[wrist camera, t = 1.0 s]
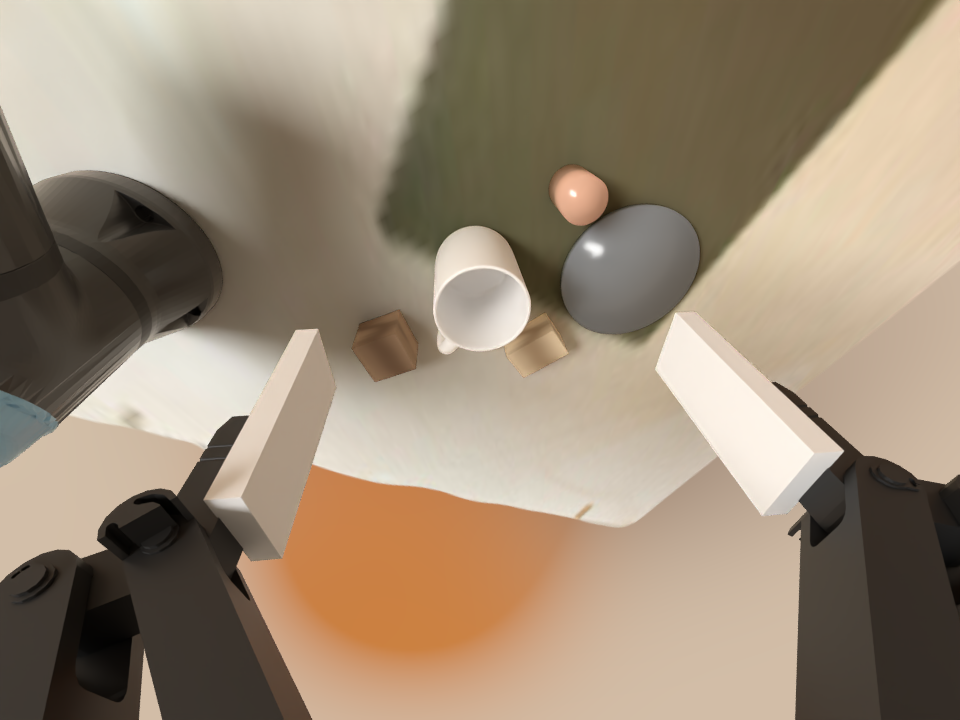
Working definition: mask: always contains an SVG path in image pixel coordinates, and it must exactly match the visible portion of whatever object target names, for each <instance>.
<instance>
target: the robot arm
mask: <svg viewBox="0 0 960 720" xmlns="http://www.w3.org/2000/svg"><path fill="white" fill-rule="evenodd" d="M221 289H222V271H221V266H220V263H219V260H218V257H217V254H216V252H215V250H214V248H213V246H212V245H211V243H210V241H209V240H208V238H207V237H206V235H205V234H204V232H203V231H202V230H201V229H200V227H199V226H198V225H197V224H196V223H195V222H194V221H193V220H192V219H191V218H190V217H189V216H188V215H187V214H186V213H185V212H184V211H183V210H182V209H181V208H179V207H178V206H177V205H176V204H174V203H173V202H172V201H170V200H169V199H168V198H166V197H165V196H163V195H162V194H160V193H158V192H157V191H155V190H153V189H151V188H149V187H148V186H145V185H143V184H141V183H139V182H137V181H134V180H132V179H129V178H126V177H123V176H120V175H116V174H112V173H107V172H102V171H88V170H86V171H74V172H69V173H65V174H62V175H58V176H54V177H51V178H47V179H44V180H42V181H40V182H38V183H36V184H34V185H32V183H31V180H30V178H29V175H28V173H27V170H26V168H25V166H24V163H23V161H22V158H21V156H20V153H19V151H18V148H17V146H16V143H15V141H14V138H13V136H12V133H11V131H10V128H9V126H8V124H7V121H6V119H5V116H4V114H3V111H2V109H1V106H0V467H2V466H3V465H6V464H8V463H10V462H11V461H12V460H14V459H15V458H16V457H18V456H19V455H20V454H21V453H22V452H24V451H25V450H26V449H27V448H29V447H30V446H31V445H32V444H34V443H35V442H36V441H37V440H39V439H40V438H41V437H42V436H45V435H47V434H49V433H52V432H53V431H54V430H55V429H56V428H57V427H58V425H59V424H60V423H61V422H62V421H63V420H64V419H65V418H66V417H67V416H68V415H69V414H70V413H71V412H72V411H73V410H74V409H76V408H77V407H78V406H79V405H80V404H81V403H82V402H83V401H84V400H85V399H86V398H87V397H88V396H89V395H90V394H91V393H92V392H93V391H94V390H96V389H97V388H98V387H99V386H100V385H101V384H102V383H103V382H104V381H105V380H106V379H107V378H108V377H109V376H110V375H111V374H112V373H113V372H114V371H116V370H117V369H118V368H119V367H120V366H121V365H122V364H123V363H124V362H125V361H126V360H127V359H128V358H129V357H130V356H131V355H132V354H133V353H134V352H135V351H136V350H138V349H139V348H140V347H141V346H142V345H143V344H145V343H147V342H150V341H153V340H155V339H158V338H161V337H164V336H166V335H169V334H172V333H174V332H177V331H180V330H183V329H185V328H187V327H190V326H191V325H193V324H195V323H196V322H198V321H199V320H200V319H201V318H202V317H203V316H204V315H205V314H206V313H207V312H208V311H209V310H210V309H211V308H212V307H213V306H214V305H215V303H216V302H217V300H218V298H219V296H220V293H221ZM655 370H656V371H657V373H658V374H659V375H660V377H661V378H662V379H663V381H664V382H665V384H666V385H667V386H668V388H669V389H670V390H671V392H672V393H673V395H674V396H675V397H676V399H677V400H678V401H679V403H680V404H681V406H682V407H683V408H684V410H685V411H686V412H687V414H688V415H689V417H690V418H691V419H692V421H693V422H694V423H695V425H696V426H697V428H698V429H699V430H700V432H701V433H702V434H703V436H704V437H705V439H706V440H707V441H708V443H709V444H710V445H711V447H712V448H713V450H714V451H715V452H716V454H717V455H718V456H719V458H720V459H721V461H722V462H723V463H724V465H725V466H726V467H727V469H728V470H729V471H730V473H731V474H732V476H733V477H734V478H735V480H736V481H737V483H738V484H739V485H740V487H741V488H742V489H743V491H744V492H745V493H746V495H747V496H748V498H749V499H750V500H751V502H752V503H753V504H754V506H755V507H756V509H757V510H758V511H759V513H760V514H761V515H762V516H768V515H780V514H788V513H789V511H790V510H791V509H792V508H793V507H794V506H795V505H796V504H797V502H800V503H801V504H802V505H803V507H804V508H805V509H806V510H807V512H806V513H805V514H804V515H803V516H802V517H801V518H800V519H799V520H798V521H797V522H796V523H795V524H794V525H793V526H792V527H791V528H790V530H789V532H788V535H790V536H793V535H794V534H795V533H796V532H797V531H798V530H801V538H800V539H799V540H800V541H801V549H800V550H801V551H800V552H801V553H800V583H799V614H798V649H797V679H796V714H795V720H960V475H958V476H956V477H955V478H954V479H952V481H950V482H949V483H947V484H946V485H945V484H940V483H934V482H929V481H924V480H918V479H917V478H916V477H914V476H913V475H912V474H911V473H910V472H908V471H907V470H905V469H904V468H902V467H901V466H899V465H896V464H895V463H892V462H890V461H888V460H886V459H882V458H878V457H874V456H863V455H862V454H861V453H860V452H859V451H858V450H857V449H855V448H854V447H853V446H852V445H851V444H850V443H849V442H848V441H847V440H845V439H844V438H843V437H842V436H841V435H840V434H839V433H838V432H837V431H836V430H834V429H833V428H832V427H831V426H830V425H829V424H827V422H826V421H824V420H823V419H822V418H819V417H818V414H817V413H816V412H814V411H813V410H812V409H811V408H810V407H807V404H806V403H805V402H803V401H802V400H801V399H800V398H799V397H798V396H797V395H796V394H795V393H794V392H792V391H790V390H788V389H787V388H785V387H783V386H781V385H780V384H778V383H776V382H770V381H769V380H768V379H767V378H766V377H765V376H764V375H763V374H762V373H760V372H759V371H758V370H757V369H756V368H755V367H754V366H753V365H752V364H751V363H750V362H749V361H748V360H747V359H746V358H744V357H743V356H742V355H741V354H740V353H739V352H738V351H737V350H736V349H735V348H734V347H733V346H732V345H731V344H729V343H728V342H727V341H726V340H725V339H724V338H723V337H722V336H721V335H720V334H719V333H718V332H717V331H716V330H715V329H713V328H712V327H711V326H710V325H709V324H708V323H707V322H706V321H705V320H704V319H703V318H702V317H701V316H700V315H699V314H697V313H696V312H695V311H691V312H676V313H675V315H674V318H673V321H672V324H671V327H670V329H669V332H668V335H667V338H666V340H665V343H664V346H663V349H662V351H661V354H660V357H659V360H658V362H657V365H656V368H655ZM335 390H336V385H335V382H334V378H333V375H332V372H331V369H330V365H329V362H328V359H327V356H326V352H325V349H324V346H323V343H322V339H321V336H320V333H319V330H318V329H305V330H296V331H295V332H294V334H293V336H292V338H291V340H290V342H289V343H288V345H287V347H286V349H285V351H284V353H283V354H282V356H281V358H280V360H279V362H278V364H277V366H276V367H275V369H274V371H273V373H272V375H271V377H270V378H269V380H268V382H267V384H266V386H265V388H264V389H263V391H262V393H261V395H260V397H259V399H258V400H257V402H256V404H255V406H254V408H253V410H252V412H251V413H250V415H249V416H235V417H232V418H230V419H229V420H228V421H227V422H226V423H225V424H224V425H223V426H221V427H220V428H219V429H218V430H217V431H216V433H215V434H214V436H213V438H212V439H211V441H210V443H209V444H208V448H207V449H205V451H204V452H203V454H202V456H201V458H200V462H197V464H196V466H195V467H194V469H193V470H192V472H191V474H190V475H189V477H188V479H187V480H186V482H185V484H184V485H183V487H182V489H181V490H180V492H179V493H178V495H177V496H176V495H175V494H174V493H173V492H172V491H171V490H165V489H155V490H148V491H145V492H143V493H140V494H138V495H135V496H133V497H131V498H130V499H128V500H126V501H125V502H123V503H122V504H120V505H119V506H117V507H116V508H115V509H114V510H113V511H112V512H111V513H110V514H109V515H108V516H107V517H106V518H105V520H104V521H103V523H102V525H101V526H100V528H99V530H98V538H97V541H98V542H100V543H101V544H102V545H103V546H105V547H106V548H107V549H108V550H105V551H102V552H99V553H96V554H93V555H90V556H88V557H84V558H82V559H81V558H79V557H78V556H76V555H75V554H74V553H72V552H71V551H70V550H54V551H51V552H47V553H43V554H41V555H39V556H37V557H35V558H33V559H31V560H29V561H27V562H25V563H24V564H22V565H21V566H20V567H18V568H17V569H15V570H14V571H13V572H11V573H10V574H8V575H7V576H6V577H5V579H4V580H3V581H2V582H1V583H0V720H139V709H140V695H141V681H142V667H143V655H144V649H145V653H146V657H147V661H148V665H149V669H150V673H151V677H152V681H153V684H154V688H155V692H156V696H157V700H158V704H159V708H160V712H161V716H162V720H312V718H311V716H310V714H309V712H308V710H307V708H306V706H305V703H304V701H303V700H302V697H301V695H300V693H299V691H298V689H297V687H296V685H295V683H294V681H293V679H292V677H291V675H290V673H289V671H288V669H287V666H286V665H285V662H284V660H283V658H282V656H281V654H280V652H279V650H278V648H277V646H276V644H275V642H274V640H273V638H272V636H271V633H270V631H269V629H268V627H267V625H266V623H265V621H264V619H263V617H262V615H261V613H260V611H259V609H258V607H257V605H256V603H255V601H254V598H253V596H252V594H251V592H250V590H249V588H248V586H247V584H246V582H245V580H244V578H243V576H242V574H241V572H240V570H239V569H238V568H237V567H236V565H237V563H238V561H239V558H240V556H241V553H242V551H244V553H245V554H246V555H247V556H248V558H249V559H250V560H251V561H259V560H270V559H281V558H282V557H283V554H284V551H285V547H286V544H287V541H288V538H289V535H290V532H291V528H292V525H293V522H294V519H295V516H296V513H297V510H298V507H299V503H300V500H301V497H302V494H303V491H304V488H305V485H306V481H307V478H308V475H309V472H310V469H311V466H312V463H313V459H314V456H315V453H316V450H317V447H318V444H319V440H320V437H321V434H322V431H323V428H324V425H325V422H326V418H327V415H328V412H329V409H330V406H331V403H332V400H333V396H334V393H335Z"/></svg>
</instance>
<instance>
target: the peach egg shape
mask: <svg viewBox="0 0 960 720" xmlns="http://www.w3.org/2000/svg"><path fill="white" fill-rule="evenodd" d="M549 197H550V199H551V201H552V203H553V204H554V205H555V206H556V207H557V209H558V210H559V211H560V212H561V213H562V215H563V216H564V217H565V218H566V219H567V220H568V221H569V222H570V223H572V224H574V225H580V226H581V225H587V224H590V223H592V222H594V221H595V220H597V219H598V218H599V217H600V216H601V215H602V213H603V212H604V210H605V208H606V206H607V203H608V190H607V187H606V185H605V184H604V182H603V181H602V180H600V179H599V178H597V177H596V176H595V175H593V174H592V173H590V172H589V171H587V170H586V169H584V168H583V167H581V166H579V165H575V164H570V165H566V166H564V167H562V168H560V169H559V170H558V171H557V172H556V173H555V174H554V175H553V177H552V179H551V181H550V184H549Z"/></svg>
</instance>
